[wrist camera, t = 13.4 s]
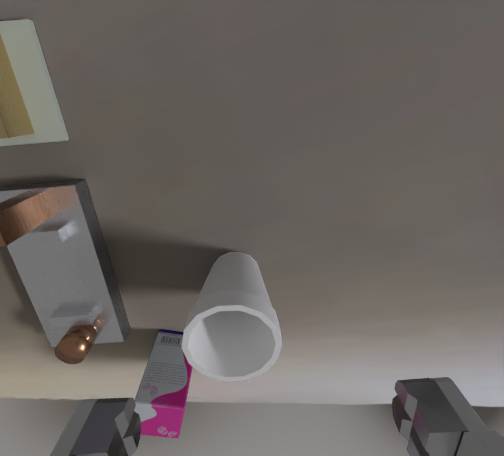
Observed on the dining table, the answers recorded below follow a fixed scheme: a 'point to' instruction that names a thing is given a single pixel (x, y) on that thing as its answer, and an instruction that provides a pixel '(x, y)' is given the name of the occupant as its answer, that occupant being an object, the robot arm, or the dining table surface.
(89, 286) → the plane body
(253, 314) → the foam cup
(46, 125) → the sage mat
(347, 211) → the dining table surface
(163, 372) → the supplement box
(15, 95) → the tan upright box
